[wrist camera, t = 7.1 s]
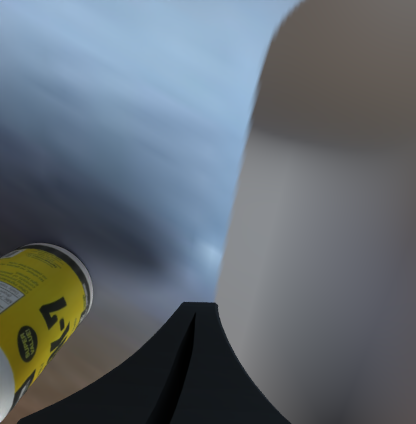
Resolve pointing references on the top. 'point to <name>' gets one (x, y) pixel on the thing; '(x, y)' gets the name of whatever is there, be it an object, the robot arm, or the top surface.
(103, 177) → the top surface
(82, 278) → the supplement bottle
